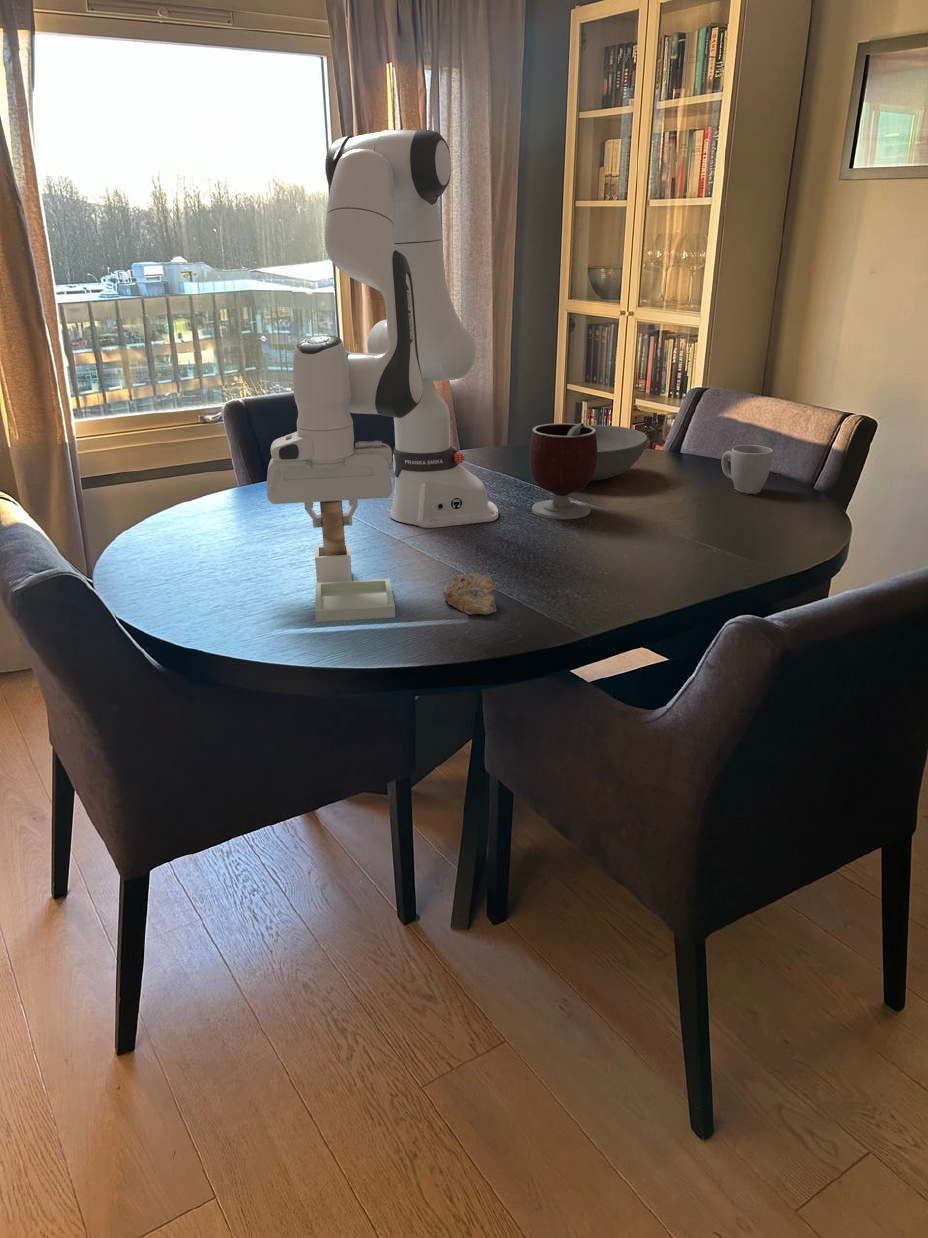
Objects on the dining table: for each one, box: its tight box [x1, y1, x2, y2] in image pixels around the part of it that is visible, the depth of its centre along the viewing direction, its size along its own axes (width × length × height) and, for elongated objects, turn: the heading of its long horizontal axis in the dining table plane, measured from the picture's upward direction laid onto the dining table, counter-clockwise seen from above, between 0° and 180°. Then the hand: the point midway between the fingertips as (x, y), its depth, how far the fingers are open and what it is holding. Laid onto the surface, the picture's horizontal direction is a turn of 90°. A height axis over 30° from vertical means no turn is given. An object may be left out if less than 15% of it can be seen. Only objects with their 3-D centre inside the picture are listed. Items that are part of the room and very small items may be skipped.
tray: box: [314, 578, 396, 623], centre depth 144 cm, size 12×12×2 cm
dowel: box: [319, 500, 346, 556], centre depth 152 cm, size 4×4×12 cm
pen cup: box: [314, 544, 353, 583], centre depth 154 cm, size 6×6×6 cm
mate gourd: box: [528, 422, 597, 520], centre depth 189 cm, size 16×14×20 cm
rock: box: [443, 572, 497, 616], centre depth 145 cm, size 9×6×10 cm
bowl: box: [585, 424, 649, 482], centre depth 217 cm, size 26×26×10 cm
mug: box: [720, 444, 774, 493], centre depth 205 cm, size 12×9×10 cm
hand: (332, 525), depth 152 cm, fingers closed on dowel, 4 cm apart
